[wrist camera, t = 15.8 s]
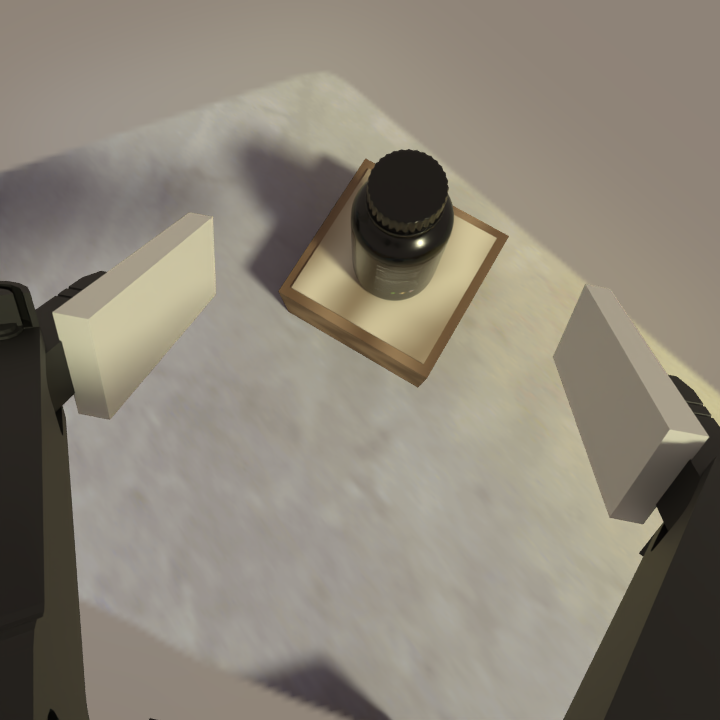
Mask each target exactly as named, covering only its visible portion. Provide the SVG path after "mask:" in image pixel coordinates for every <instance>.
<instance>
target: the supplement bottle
mask: <svg viewBox="0 0 720 720" xmlns="http://www.w3.org/2000/svg"><path fill="white" fill-rule="evenodd" d="M447 184H448V180H447V178H446V173H445V172H444V171H443V168H442V166H440V165H439V164H438V161H436V160H434V159H433V158H432V156H428V155H427V154H425V153H423V152H419V151H417V150H414V151H413V150H410V149H408V150H399V151H393V152H392V153H391V154H386V156H385V157H383V158H381V159H380V160H379V162H377V163H376V164H375V166H374V168H373V169H372V170H371V172H370V175H369V177H368V180H367V181H366V182H365V183H364V184H363V185H362V187H361V188H360V189H359V191H358V192H357V194H356V196H355V198H354V201H353V204H352V209H351V243H352V262H353V269H354V272H355V275H356V277H357V279H358V281H359V283H360V284H361V285H362V286H363V288H364V289H366V290H367V291H368V292H369V293H371V294H372V295H374V296H376V297H378V298H381V299H384V300H390V301H400V300H405V299H409V298H411V297H413V296H415V295H417V294H419V293H420V292H421V291H423V290H424V289H425V288H426V286H427V285H428V284H429V283H430V281H431V279H432V277H433V275H434V273H435V271H436V269H437V266H438V264H439V262H440V259H441V257H442V255H443V252H444V250H445V248H446V245H447V243H448V241H449V238H450V236H451V233H452V229H453V224H454V210H453V205H452V202H451V199H450V197H449V195H448V190H449V187H448V185H447Z"/></svg>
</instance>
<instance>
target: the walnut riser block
mask: <svg viewBox="0 0 720 720" xmlns="http://www.w3.org/2000/svg"><path fill="white" fill-rule="evenodd" d="M374 166H375V163H373V162H371V161H369V160H367V159H365V160H364V162H363V163H362V165H361V166H360V168H359V169H358V171H357V172H356V174H355V175H354V177H353V178H352V180H351V181H350V183H349V184H348V186H347V188H346V189H345V191H344V192H343V194H342V195H341V197H340V198H339V200H338V201H337V203H336V204H335V206H334V207H333V209H332V210H331V212H330V213H329V215H328V217H327V218H326V220H325V221H324V223H323V224H322V226H321V227H320V229H319V230H318V232H317V233H316V235H315V236H314V238H313V239H312V241H311V242H310V244H309V246H308V247H307V249H306V250H305V252H304V253H303V255H302V256H301V258H300V259H299V261H298V262H297V264H296V265H295V267H294V268H293V270H292V271H291V273H290V275H289V276H288V278H287V279H286V281H285V282H284V284H283V285H282V287H281V288H280V290H279V291H278V292H279V294H280V296H281V297H282V299H283V301H284V303H285V305H286V307H287V309H288V311H289V312H290V313H292V314H294V315H295V316H297V317H299V318H300V319H302V320H304V321H305V322H307V323H309V324H311V325H312V326H314V327H316V328H317V329H319V330H321V331H323V332H324V333H326V334H328V335H329V336H331V337H333V338H334V339H336V340H338V341H340V342H341V343H343V344H345V345H346V346H348V347H350V348H352V349H353V350H355V351H357V352H358V353H360V354H362V355H363V356H365V357H367V358H369V359H370V360H372V361H374V362H375V363H377V364H379V365H381V366H382V367H384V368H386V369H387V370H389V371H391V372H392V373H394V374H396V375H398V376H399V377H401V378H403V379H404V380H406V381H408V382H410V383H411V384H413V385H415V386H416V387H419V386H420V385H421V384H422V383H423V382H424V381H425V380H426V379H427V377H428V375H429V374H430V372H431V370H432V368H433V367H434V365H435V363H436V362H437V360H438V358H439V356H440V355H441V353H442V351H443V349H444V348H445V346H446V344H447V343H448V341H449V339H450V337H451V336H452V334H453V332H454V330H455V329H456V327H457V325H458V323H459V322H460V320H461V318H462V317H463V315H464V313H465V311H466V310H467V308H468V306H469V304H470V303H471V301H472V299H473V298H474V296H475V294H476V292H477V291H478V289H479V287H480V285H481V284H482V282H483V280H484V278H485V277H486V275H487V273H488V272H489V270H490V268H491V266H492V265H493V263H494V261H495V259H496V258H497V256H498V254H499V253H500V251H501V249H502V247H503V246H504V244H505V242H506V240H507V239H508V237H509V236H508V235H506V234H504V233H502V232H500V231H498V230H496V229H495V228H493V227H491V226H489V225H487V224H485V223H484V222H482V221H480V220H478V219H476V218H474V217H472V216H471V215H469V214H467V213H465V212H463V211H461V210H460V209H458V208H456V207H454V206H453V210H454V224H453V229H452V233H451V236H450V238H449V241H448V243H447V245H446V248H445V250H444V252H443V255H442V257H441V259H440V262H439V264H438V266H437V269H436V271H435V273H434V275H433V277H432V279H431V281H430V283H429V284H428V285H427V286H426V288H425V289H424V290H423V291H421V292H420V293H419V294H417V295H415V296H413V297H411V298H409V299H405V300H400V301H390V300H384V299H381V298H378V297H376V296H374V295H372V294H371V293H369V292H368V291H367V290H366V289H364V288H363V286H362V285H361V284H360V283H359V281H358V279H357V277H356V275H355V272H354V269H353V262H352V243H351V209H352V204H353V201H354V198H355V196H356V194H357V192H358V191H359V189H360V188H361V187H362V185H363V184H364V183H365V182H366V181H367V180H368V177H369V175H370V172H371V170H372V169H373V168H374Z"/></svg>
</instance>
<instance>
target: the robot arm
mask: <svg viewBox="0 0 720 720" xmlns="http://www.w3.org/2000/svg"><path fill="white" fill-rule="evenodd" d="M215 295H216V283H215V258H214V233H213V217H212V216H206V215H200V214H195V213H188V214H186V215H185V216H184V217H182V218H181V219H180V220H178V221H177V222H176V223H174V224H173V225H171V226H170V227H169V228H167V229H166V230H165V231H163V232H162V233H160V234H159V235H158V236H156V237H155V238H154V239H152V240H151V241H149V242H148V243H147V244H145V245H144V246H143V247H141V248H140V249H138V250H137V251H136V252H134V253H133V254H132V255H130V256H129V257H127V258H126V259H125V260H123V261H122V262H121V263H119V264H118V265H116V266H115V267H114V268H112V269H111V270H110V271H108V272H104V271H99V272H97V273H94V274H91V275H88V276H85V277H82V278H81V279H79V280H78V281H76V282H75V283H73V284H72V285H71V286H69V289H65V290H63V291H62V292H60V293H59V294H58V296H55V297H53V298H52V299H50V300H49V301H47V302H46V303H45V304H43V305H42V306H40V307H39V308H37V309H36V310H35V308H34V304H33V301H32V297H31V294H30V291H29V289H28V288H27V287H26V286H24V285H22V284H20V283H16V282H10V281H0V720H89V715H88V710H87V703H86V694H85V682H84V666H83V654H82V653H83V652H82V639H81V624H80V611H79V596H78V582H77V568H76V554H75V540H74V526H73V512H72V498H71V484H70V470H69V456H68V442H67V428H66V417H65V413H64V410H63V406H62V405H63V404H64V403H65V402H66V401H67V400H68V399H69V398H70V397H71V396H72V395H73V394H74V397H75V401H76V405H77V409H78V413H79V414H84V415H89V416H94V417H99V418H104V419H109V420H110V419H111V418H112V417H113V416H114V414H115V413H116V412H117V411H118V410H119V409H120V407H121V406H122V405H123V404H124V403H125V401H126V400H127V399H128V398H129V397H130V395H131V394H132V393H133V392H134V391H135V390H136V388H137V387H138V386H139V385H140V384H141V382H142V381H143V380H144V379H145V378H146V377H147V375H148V374H149V373H150V372H151V371H152V369H153V368H154V367H155V366H156V365H157V364H158V362H159V361H160V360H161V359H162V358H163V356H164V355H165V354H166V353H167V352H168V350H169V349H170V348H171V347H172V346H173V345H174V343H175V342H176V341H177V340H178V339H179V337H180V336H181V335H182V334H183V333H184V332H185V330H186V329H187V328H188V327H189V326H190V324H191V323H192V322H193V321H194V320H195V319H196V317H197V316H198V315H199V314H200V313H201V311H202V310H203V309H204V308H205V307H206V305H207V304H208V303H209V302H210V301H211V300H212V298H213V297H214V296H215ZM553 358H554V361H555V364H556V367H557V370H558V373H559V375H560V378H561V381H562V384H563V387H564V390H565V392H566V395H567V398H568V401H569V404H570V407H571V409H572V412H573V415H574V418H575V421H576V424H577V427H578V429H579V432H580V435H581V438H582V441H583V444H584V446H585V449H586V452H587V455H588V458H589V461H590V464H591V466H592V469H593V472H594V475H595V478H596V481H597V483H598V486H599V489H600V492H601V495H602V498H603V500H604V503H605V506H606V509H607V512H608V515H609V518H614V519H619V520H624V521H629V522H634V523H640V524H644V523H645V521H646V520H647V519H648V517H649V516H650V515H651V513H652V512H653V511H654V509H655V508H656V507H657V508H658V510H659V513H660V515H661V517H662V519H663V521H664V522H663V524H662V525H661V526H660V527H659V529H658V530H657V531H656V532H655V534H654V535H653V536H652V537H651V539H650V540H649V541H648V543H647V544H646V545H645V546H644V548H643V549H642V550H641V551H640V553H639V554H641V555H642V556H643V558H642V561H641V563H640V565H639V567H638V569H637V571H636V573H635V575H634V577H633V579H632V581H631V583H630V585H629V587H628V589H627V591H626V593H625V595H624V597H623V599H622V601H621V603H620V605H619V607H618V609H617V611H616V613H615V615H614V617H613V619H612V621H611V624H610V626H609V628H608V630H607V632H606V634H605V636H604V638H603V640H602V642H601V644H600V646H599V648H598V650H597V652H596V654H595V656H594V658H593V660H592V662H591V664H590V666H589V668H588V670H587V672H586V674H585V676H584V678H583V680H582V682H581V685H580V687H579V689H578V691H577V693H576V695H575V697H574V699H573V701H572V703H571V705H570V707H569V709H568V711H567V713H566V715H565V717H564V719H563V720H720V427H719V425H718V424H717V423H716V421H715V420H714V418H711V414H710V413H709V411H708V410H707V408H706V407H704V406H703V403H702V401H701V400H700V399H699V397H698V396H697V394H696V393H695V392H694V390H693V389H691V388H690V387H689V386H688V385H687V384H685V383H684V382H683V381H682V380H680V379H679V378H678V377H677V376H671V375H668V374H667V373H666V371H665V370H664V368H663V367H662V365H661V364H660V362H659V361H658V359H657V358H656V356H655V355H654V353H653V352H652V350H651V349H650V347H649V346H648V344H647V343H646V341H645V340H644V338H643V337H642V335H641V334H640V332H639V331H638V329H637V328H636V326H635V325H634V323H633V322H632V320H631V319H630V317H629V316H628V314H627V313H626V311H625V310H624V308H623V307H622V305H621V304H620V302H619V301H618V299H617V298H616V296H615V295H614V293H613V292H612V290H611V289H610V288H605V287H599V286H594V285H588V284H585V286H584V288H583V290H582V293H581V295H580V297H579V299H578V302H577V304H576V306H575V309H574V311H573V313H572V315H571V318H570V320H569V322H568V324H567V327H566V329H565V331H564V333H563V336H562V338H561V340H560V342H559V345H558V347H557V349H556V351H555V354H554V356H553ZM149 720H155V719H151V718H150V719H149Z"/></svg>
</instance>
